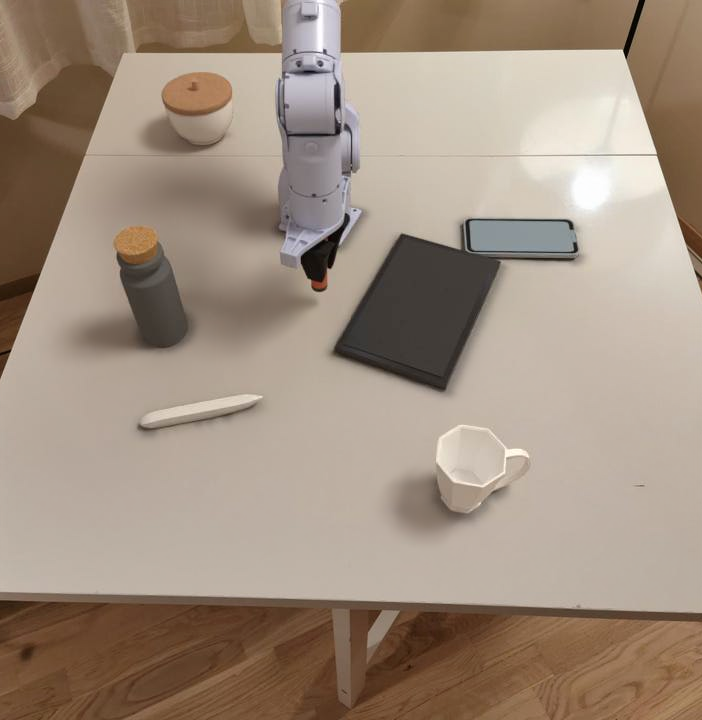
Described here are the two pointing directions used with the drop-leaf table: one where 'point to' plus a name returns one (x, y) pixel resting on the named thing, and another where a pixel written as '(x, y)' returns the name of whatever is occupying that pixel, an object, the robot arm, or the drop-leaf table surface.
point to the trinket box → (199, 106)
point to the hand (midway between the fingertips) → (320, 272)
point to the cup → (473, 466)
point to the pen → (198, 411)
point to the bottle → (150, 287)
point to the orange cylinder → (317, 285)
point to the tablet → (419, 311)
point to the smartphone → (521, 237)
